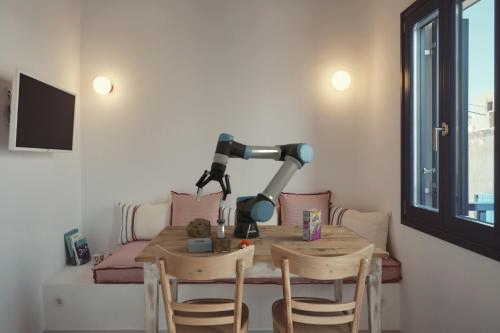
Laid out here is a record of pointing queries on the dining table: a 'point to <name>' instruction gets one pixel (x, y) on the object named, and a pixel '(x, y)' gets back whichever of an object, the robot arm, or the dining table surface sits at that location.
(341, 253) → the dining table surface
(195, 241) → the dock
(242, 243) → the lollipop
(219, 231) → the lock pin
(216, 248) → the mount
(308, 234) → the candy bar box
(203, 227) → the rock
